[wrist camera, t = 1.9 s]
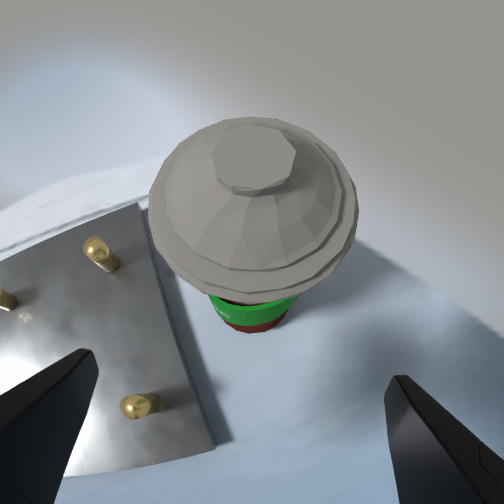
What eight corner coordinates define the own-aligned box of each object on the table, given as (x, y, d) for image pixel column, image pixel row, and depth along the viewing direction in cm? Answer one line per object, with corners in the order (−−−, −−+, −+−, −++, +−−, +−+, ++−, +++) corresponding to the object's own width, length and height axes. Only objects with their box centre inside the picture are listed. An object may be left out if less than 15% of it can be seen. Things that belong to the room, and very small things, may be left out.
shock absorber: (191, 277, 22) (108, 121, 8) (273, 241, 23) (299, 60, 9) (228, 362, 20) (175, 332, 6) (315, 320, 21) (426, 213, 7)
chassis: (217, 445, 18) (209, 461, 14) (33, 475, 16) (2, 484, 12) (142, 209, 24) (124, 180, 20) (-7, 273, 22) (-36, 256, 18)
